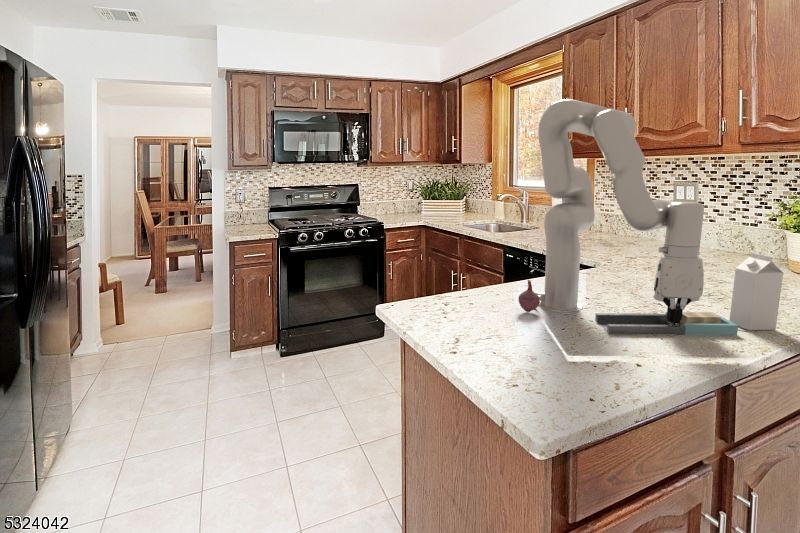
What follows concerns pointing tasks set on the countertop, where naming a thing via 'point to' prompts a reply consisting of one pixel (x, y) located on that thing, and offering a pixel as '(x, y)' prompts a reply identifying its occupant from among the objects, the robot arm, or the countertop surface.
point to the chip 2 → (711, 318)
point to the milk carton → (756, 293)
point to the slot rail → (638, 324)
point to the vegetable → (529, 299)
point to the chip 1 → (691, 318)
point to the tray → (711, 327)
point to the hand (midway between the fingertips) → (673, 322)
